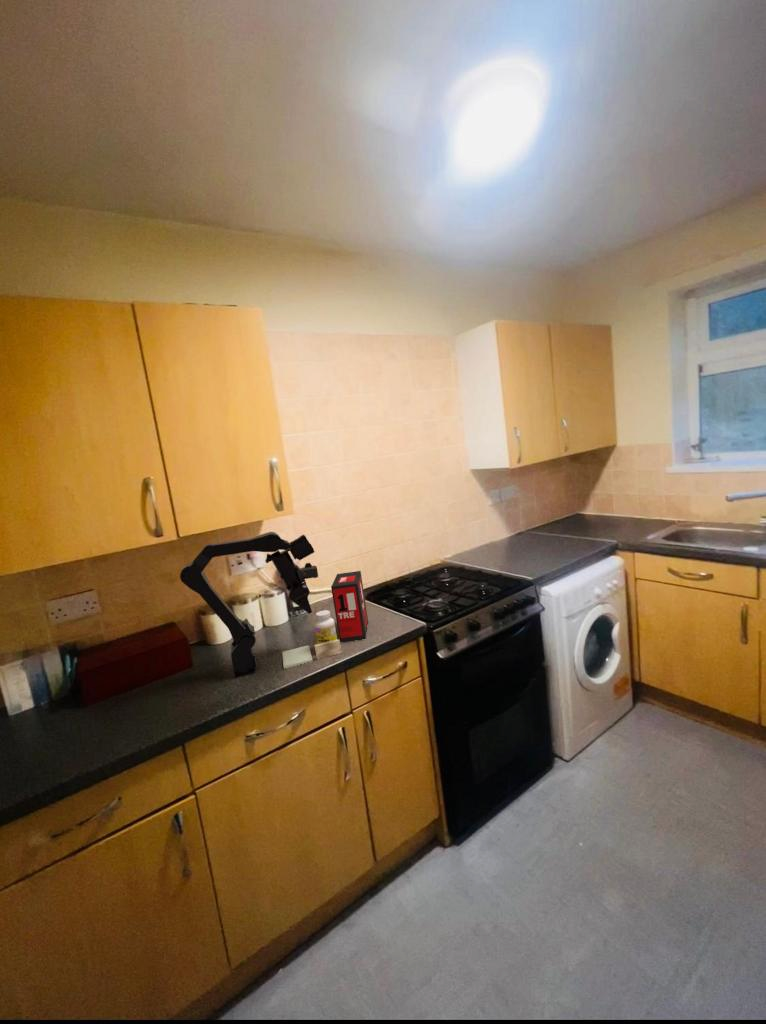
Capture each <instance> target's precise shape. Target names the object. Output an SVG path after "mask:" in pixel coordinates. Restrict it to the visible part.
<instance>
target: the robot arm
mask: <svg viewBox="0 0 766 1024" xmlns="http://www.w3.org/2000/svg"><path fill="white" fill-rule="evenodd" d="M280 550H281V551H280ZM248 552H250V553H251V552H258V553H266V558H265V560H264V562H265V563H266V564H268V563H270V562H272V564H273V565H274V567H275V569H276V571H277V573H278V574H279V577H280V579H281V580H282V582H283V583H284V585H285V587H286V589H287V591H288V593H287V595H288V598H289V599H290V602H292V603H294V604H295V605H297V606H298V607H299V608H301V609H302V610H304V612H307V614H312V613H313V611H312V608H311V604H310V601H309V598H308V597H309V595H310V594H311V593H310V592H311V591H310V589H309V587H308V585H307V582H306V580H308V579H317V578H319V573H318V566H317V565H312V564H311V562H306V563H305V564H304V567H300V568H299V567H298V565H296V564H295V562H294V560H298V561H299V562H300V561H302V560H303V559H305V558H307V557H308V556H311V555H313V554H314V553H315V550H314V547H313V545H312V544H311V543H310V541H309V540H308V538H307V537H306V535H305V534H302V535H300V536H299V537H298V538H295V539H294V540H292V541H290V542H289V541H288V540H285V539H283V538H281V537H280V535H279V534H278V533H277V532H275V531H269V532H265V533H261V534H259V535H256V536H254V537H251V538H243V539H238V540H231V541H230V540H229V541H225V542H218V543H208V544H205V545H204V547H202V550H201V551H200V552H199V553H198V555H197V556H196V557H195V558H194V560H192V561H191V562H188V563H186V564H185V565H184V566H183V568H182V570H181V571H180V574H179V579H180V582H182V583H183V584H184V585H185V586H186V587H187V588H188V589H190V590H192V591H193V592H195V593H196V594H198V595H199V596H200V597H201V598H202V599H203V600H204V602H205V603H206V604H207V606H209V607H210V609H211V610H212V611H213V612H214V613H215V615H216V616H217V617H218V618H219V619H220V620H221V621H222V623H223V624H224V625H225V626H226V628H227V629H228V632H229V633H230V635H231V638H232V640H233V641H232V642H231V644H230V655H231V656H230V658H231V664H232V670H233V678H238V677H243V676H246V675H250V674H253V673H256V669H257V667H258V664H257V658H256V653H255V652H254V651H253V647H255V644H256V631H255V626H253V624H251V623H250V621H249V620H248V618H245V619H244V620H242V619H241V618H239V617H238V616H237V614H236V613H234V611H233V610H232V608H230V606H229V605H228V604H227V603H226V602H225V601H224V599H223V598H222V596H221V595H220V594H219V593H218V592H217V591H216V590H215V589H214V587H212V585H211V584H210V581H209V580H208V577H207V575H206V572H205V571H204V570H205V568H206V567H208V564H209V563H210V562H211V560H212V559H213V558H216V557H222V556H228V555H229V556H230V555H236V554H237V555H238V554H241V553H243V554H244V553H248ZM289 552H290V553H289ZM290 554H291V555H292V556H291V555H290ZM292 557H293V558H292ZM293 559H294V560H293Z"/></svg>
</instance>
